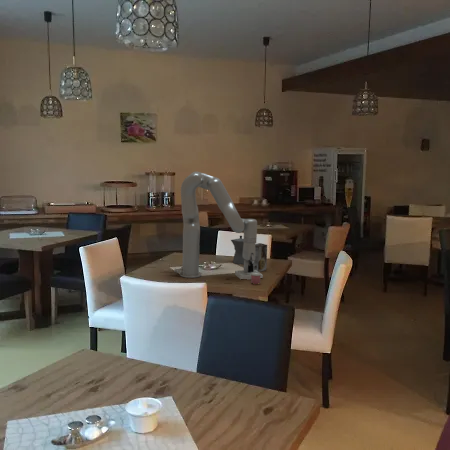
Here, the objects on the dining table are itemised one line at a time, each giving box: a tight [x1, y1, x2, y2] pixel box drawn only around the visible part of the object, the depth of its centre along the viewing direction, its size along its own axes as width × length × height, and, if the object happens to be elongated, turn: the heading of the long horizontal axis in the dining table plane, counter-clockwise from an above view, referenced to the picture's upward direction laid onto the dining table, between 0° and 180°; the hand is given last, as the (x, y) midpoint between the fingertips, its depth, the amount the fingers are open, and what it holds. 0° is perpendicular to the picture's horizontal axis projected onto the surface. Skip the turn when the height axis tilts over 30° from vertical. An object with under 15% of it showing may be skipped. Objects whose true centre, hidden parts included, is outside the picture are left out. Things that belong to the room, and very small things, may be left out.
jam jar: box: [250, 272, 262, 284], centre depth 284 cm, size 5×5×6 cm
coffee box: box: [251, 242, 268, 273], centre depth 314 cm, size 9×6×16 cm
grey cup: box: [243, 259, 254, 273], centre depth 298 cm, size 6×6×7 cm
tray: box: [234, 269, 264, 280], centre depth 299 cm, size 13×12×2 cm
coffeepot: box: [230, 235, 245, 265], centre depth 333 cm, size 15×9×18 cm, turn 82°
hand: (248, 270), depth 299 cm, fingers closed on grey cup, 6 cm apart
